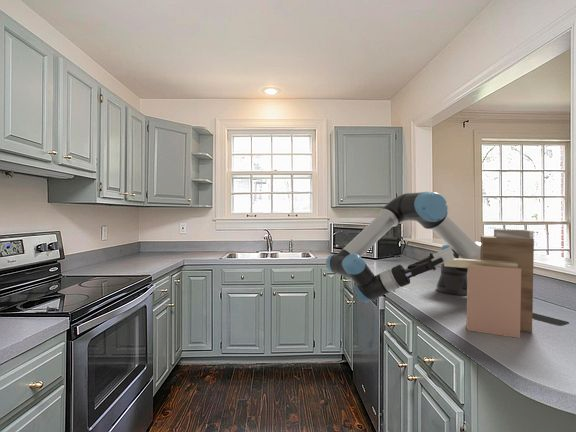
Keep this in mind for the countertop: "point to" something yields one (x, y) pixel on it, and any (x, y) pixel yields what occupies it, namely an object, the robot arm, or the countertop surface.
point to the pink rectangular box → (494, 300)
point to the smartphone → (548, 319)
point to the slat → (479, 263)
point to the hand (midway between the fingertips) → (452, 252)
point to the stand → (517, 250)
